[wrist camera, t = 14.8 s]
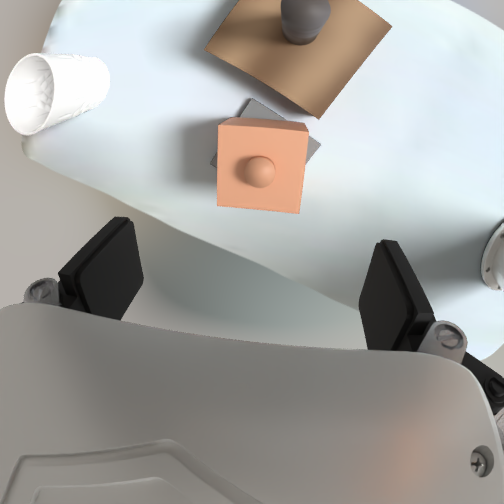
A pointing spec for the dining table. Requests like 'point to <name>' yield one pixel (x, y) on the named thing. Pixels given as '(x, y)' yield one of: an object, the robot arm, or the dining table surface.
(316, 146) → the coaster
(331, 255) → the dining table surface
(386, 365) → the robot arm
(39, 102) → the white cup
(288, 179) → the peach cube
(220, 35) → the post base
